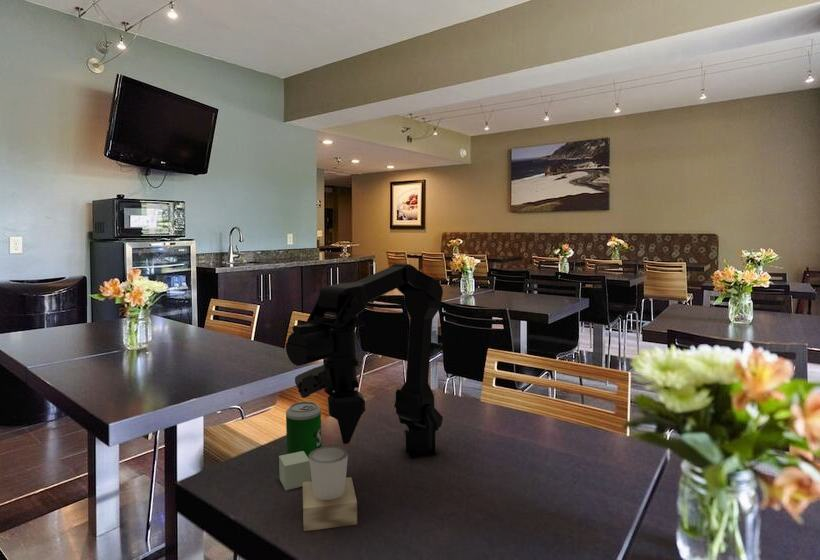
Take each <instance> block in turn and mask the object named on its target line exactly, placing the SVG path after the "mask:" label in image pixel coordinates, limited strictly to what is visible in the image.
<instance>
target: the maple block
mask: <svg viewBox="0 0 820 560" xmlns="http://www.w3.org/2000/svg"><path fill="white" fill-rule="evenodd" d="M302 510H303V511H302V512H303V513H302V514H303V519H302V521H303V532H308V531H316V530H317V531H318V530H324V529H331V528H332V529H333V528H339V527H341V528H342V527H349V526H356V525H358V501H357V495H356V491H355V487H354V482H353V478H352V476H351V477H346V484H345V492H344V494H343V495H342V496H340V497H339V498H336V499H332V500H321V499H318V498H316V497H315V496H314V495H313V488H312V480H311V481H310V482H303V486H302Z"/></svg>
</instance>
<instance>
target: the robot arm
mask: <svg viewBox="0 0 820 560" xmlns="http://www.w3.org/2000/svg"><path fill="white" fill-rule="evenodd" d="M394 290H397V291H398V292H400V293H401V294H402V295H403V303H404V304H403V305H404V307H405V309H406V311H407V313H408V316H409V329H408V330H409V333H408V344H407V345H408V348H407V358H406V359H407V363H406V376H405V377H406V378H405V382H404V384H403V385H402V387H401V388H400V389H396V391H395V402H394V408H395V412H396V415H397V416H398V420H399V422H400V424H401V425H405V430H403V449H404V450H405V452H406V454H407V455H408V457H409V458H410V459H412V458H413V459H414V458H423V457H424V458H425V457H432V456H439V455H438V453H439V452H438V451H437V450H436V431H439V429H440V428H441V427H442V424H443V419H444V417H443V415H441V413H440V412H439V411H438V410H437V409H436V408H435V395H434V393H433V391H432V388H431V386H430V384H429V377H430V374H429V373H430V362H431V361H430V358H431V346H432V331H433V319H434V317H436V314H437V313H438V311H439V310H440V308H441V303H442V299H443V294H444V291H443V290H444V289H443V286H442V285H441V284H440V281H439V280H437V279H434V278H433V277H432V276H430V275H428V274H426V273H424V272H422V271H420V270H418V269H417V268H416V267H415V266H413V265H412V264H410V263H409V264H408V263H394V264H391V265H390V266H389V267H386V268H385V269H383V270H379V271H377V272H376V273H373V274H371V275H368V276H366V277H363V278H361V279H359V280H357V281H353V282H342V283H336V284H335V283H334V284H330V285H326V286H324V287H322V288H321V289H320V291H319V295H318V298H317V300H316V301H315V303H314V306H313V307H312V309H311V311H310V314H309V316H308V318H307V320H306V324H296V325H293V326H292V332H291V334H290V335H288V337H287V340H286V343H285V351H286V355H287V358H288V359H289V361H290V362H291V363H292V364H293V365H295V366H297V367H299V366H304V365H307V364H311V363H314V362H317V361H323V363H322V365H318V366H316V367H313V368H311V369H308V370H306V371H305V372H302V373H300V374H298V375H296V376H295V377H294V383H295V386H296V389H297V392H298V393H299V395H300V397H301V398H302V399H306V398H308V397H310V395H312V394H315V393H317V392H319V391H321V390H323V391H324V392H325V393H326V394H327V395H328V396H327V410H328V415H329V416H330V417H331V418H332V419H333V418H334V419H335V420H337V424H338V428H339V431H340V432H339V433H340V436H341V440H342V444H343V445H347V444H348V445H349V444H350V443H351V441H352V438H353V435H354V432H355V430H356V428H357V426H358V424H359V422H360V419H361V418H362V415H364V412H366V400H365V398H364V396H363V394H362V393H361V392H360V391H359V390H357V388H359V387H360V385H359V383H360V382H359V379H357V378H358V374H357V373H358V369H357V367H358V366H359V360H358V358H357V341H356V340H357V335H356V333H357V332H356V331H357V330H356V329H357V328H360V327H364V325H365V323H364V321H362V320H361V319H360V318H359V317H358V315H359V314H360V313H361V312H363V311H364V310H365V309H366V307H367V306H368V303H370V302H371V301H373V300H376V299H377V298H379V297H382V296H383V295H385V294H387V293H390V292H392V291H394ZM355 389H356V390H355Z"/></svg>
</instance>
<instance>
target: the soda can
mask: <svg viewBox="0 0 820 560" xmlns="http://www.w3.org/2000/svg"><path fill="white" fill-rule="evenodd" d="M285 419H286V420H285V427H286V429H285V430H286V454H291V453H296V452H300V451H304V452H305V454H306V455H307V457H308V458H309V454H310V453H311V452H312V451H314V450H315V449H318V448H321V447H322V409H321V408H320V406H318V405H317V404H316V403H315V402H313V401H312V402H311V401H299V402H295V403H293V404H290V405H289V407H288V408H287V410H286V411H285Z"/></svg>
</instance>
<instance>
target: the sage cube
mask: <svg viewBox="0 0 820 560" xmlns="http://www.w3.org/2000/svg"><path fill="white" fill-rule="evenodd" d="M278 464H279V466H278V467H279V480H280V482H281V485H282V486H283V488H284V491H288V490H289V491H290V490H293V489H297V488H301V487H302V488H303V482H310V481H312V480H311V471H310V462H309V458H308V457H307V455H306V454H305V452H304V451H300V452H296V453H291V454H287V453H286V454H282V455H279V456H278Z"/></svg>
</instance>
